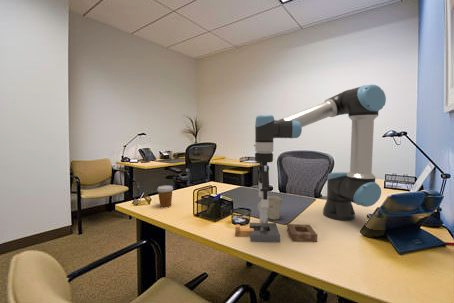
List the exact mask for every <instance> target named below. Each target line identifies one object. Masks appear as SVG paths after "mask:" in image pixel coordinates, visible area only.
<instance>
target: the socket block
mask: <svg viewBox="0 0 454 303" xmlns="http://www.w3.org/2000/svg"><path fill="white" fill-rule="evenodd" d="M248 228H254V231H250V236H249V239H250V240H249V241H250V242H251V243H252V242H257V243H281V234H280V231H279V227H278V225H277V223H276V222H268V231H260V222H249V226H248Z"/></svg>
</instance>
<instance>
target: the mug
mask: <svg viewBox="0 0 454 303" xmlns="http://www.w3.org/2000/svg"><path fill="white" fill-rule="evenodd" d="M282 202H283V199H282V198H281V197H278V196H269V198H268V220H269V219H270V220H280V218H281V217H280V216H281V209H282V208H281V207H282ZM260 203H261V201H259V202H258V204H257V210H258V211H259V212H260Z"/></svg>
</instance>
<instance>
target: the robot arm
mask: <svg viewBox="0 0 454 303" xmlns="http://www.w3.org/2000/svg"><path fill="white" fill-rule="evenodd" d="M386 101H387V96H386V93H385V91H384V89H382V88H381V87H380V86H379V85H376V84H366V85H360V86H358V87H355V88H352V89H347V90H344V91H342V92H340V93H338V94H335V95H334V96H331V97H330V98H329V97H328V98H326V99H325V100H324V101H323V102H321V103H318V104H317V105H314V106H312V107H309V108H306V109H303V110H301V111H298V112H296V113H295V112H294V113H292V114H290V115H288V116H285V117H283V118H280V119H278V120H277V119H275V118H274V115H272V114H260V115H257V116H256V117H255V122H254V123H255V127H254V129H255V130H254V131H255V132H254V133H255V140H254V142H255V143H254V144H253V147H255V149H254V150H255V153H254V161H255V162H257V163H259V165H258V198H261V201H260V202H261V207H268V198H269V197H270V196H269V195H270V194H269V192H270V174H269V172H270V166H269V165H268V163H272V162H273V161H274V153H273V152H274V139H297V138H299V137H300V136H301V134H302V128H304V127H306V126H308V125H311V124H314V123H316V122H319V121H321V120H324V119H327V118H335V117H337V116H342V115H343V116H344V115H348V117H347V118H349V119H350V120H351V138H350V139H351V140H350V161H349V162H350V164H349V165H350V166H349V172H344V171H342V172H338V171H337V172H330V173H328V174H327V179H326V181H327V185H326V187H327V188H326V191H327V192H326V193H327V194H326V201H325V204H324V206H323V209H322V210H323V211H322V213H323V216H325V217H327V218H329V219H333V220H337V221H353V220H355V218H356V213H355V210H354V205H353V204H352V203H354V204H355V205H358V206H361V207H367V208H368V207H372V206H374V205H375V204H376V203H377V202H378V201H379V200H380V199H381V196H382V188H381V187H380V185H379V183H377V182H376V176H375V175H374V174H373V172H372V171H373V168H372V167H373V147H374V132H375V131H374V129H375V128H374V125H375V120H376V118H377V117H379V111H381V110H382V109H383V108H384V106H385V105H386Z"/></svg>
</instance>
